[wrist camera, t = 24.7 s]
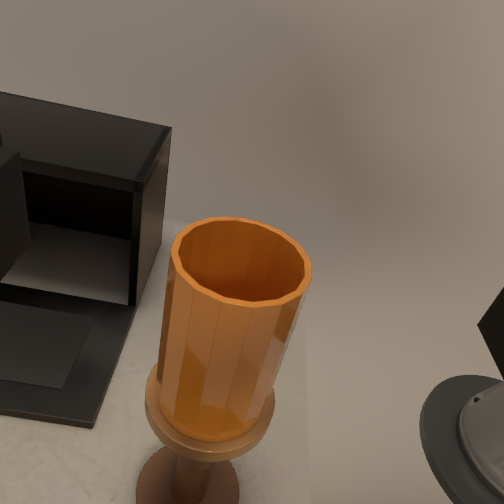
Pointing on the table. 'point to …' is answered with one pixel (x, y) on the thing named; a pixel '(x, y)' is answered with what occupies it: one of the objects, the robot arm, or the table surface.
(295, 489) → the table surface
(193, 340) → the cup
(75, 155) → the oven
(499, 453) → the robot arm
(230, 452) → the copper pedestal stand
